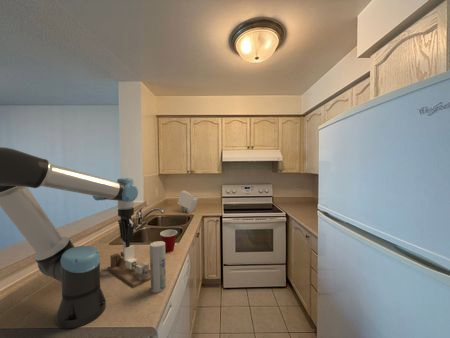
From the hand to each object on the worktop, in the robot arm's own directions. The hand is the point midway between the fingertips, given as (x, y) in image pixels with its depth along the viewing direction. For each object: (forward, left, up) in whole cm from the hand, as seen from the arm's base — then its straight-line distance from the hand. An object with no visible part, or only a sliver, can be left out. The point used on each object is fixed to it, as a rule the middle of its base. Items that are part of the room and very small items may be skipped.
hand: (126, 253), depth 109 cm
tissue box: (+113, +80, -10) cm, 139 cm away
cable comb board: (0, -4, -9) cm, 10 cm away
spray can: (+1, -27, -10) cm, 29 cm away
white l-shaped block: (0, -4, -6) cm, 7 cm away
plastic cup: (+29, +4, -10) cm, 31 cm away
